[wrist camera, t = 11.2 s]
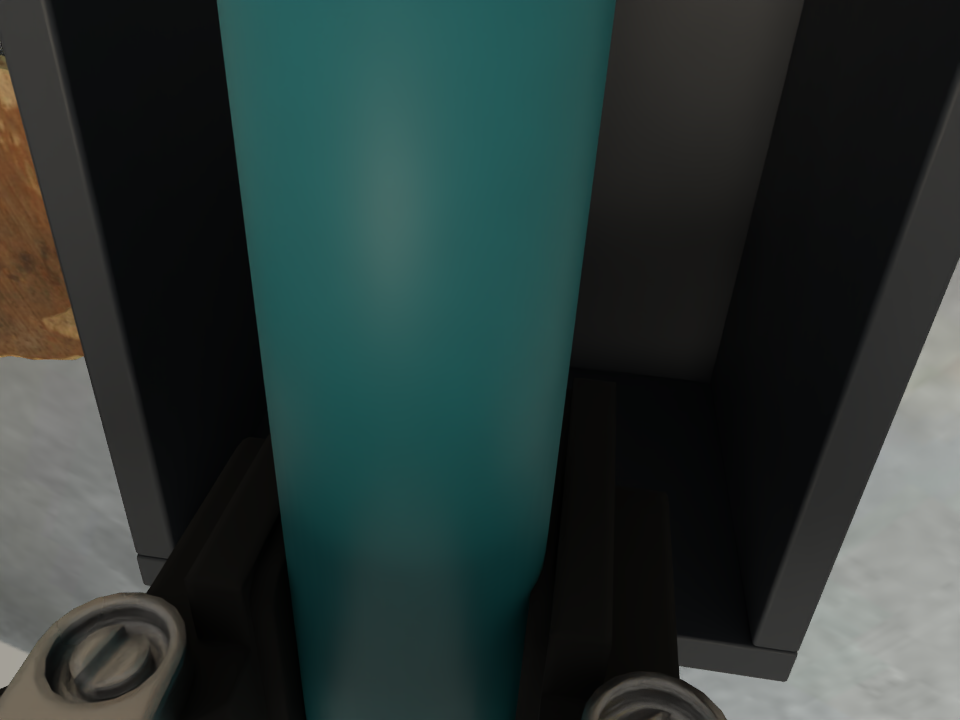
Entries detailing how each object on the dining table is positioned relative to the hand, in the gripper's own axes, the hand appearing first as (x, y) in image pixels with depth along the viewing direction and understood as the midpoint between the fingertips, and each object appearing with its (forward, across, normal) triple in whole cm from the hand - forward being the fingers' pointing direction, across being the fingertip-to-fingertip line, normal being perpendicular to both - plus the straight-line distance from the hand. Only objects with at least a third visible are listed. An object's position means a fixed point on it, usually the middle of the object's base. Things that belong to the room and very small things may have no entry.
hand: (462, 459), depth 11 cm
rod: (-2, 0, -4) cm, 4 cm away
